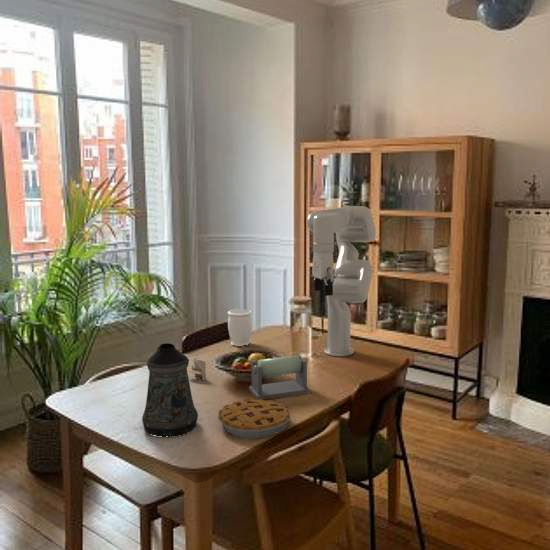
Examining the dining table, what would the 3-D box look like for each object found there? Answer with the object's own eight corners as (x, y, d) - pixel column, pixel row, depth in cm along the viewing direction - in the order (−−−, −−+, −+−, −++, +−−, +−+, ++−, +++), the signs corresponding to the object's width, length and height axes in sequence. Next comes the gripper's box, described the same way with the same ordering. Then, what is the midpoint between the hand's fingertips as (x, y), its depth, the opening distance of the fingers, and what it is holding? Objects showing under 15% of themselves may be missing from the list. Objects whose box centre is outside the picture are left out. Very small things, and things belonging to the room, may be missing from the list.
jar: (225, 347, 255) (225, 313, 252) (231, 340, 265) (230, 308, 262) (249, 348, 253) (248, 314, 250) (254, 341, 263) (253, 309, 260)
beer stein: (166, 443, 165) (162, 359, 160) (125, 425, 177) (121, 346, 173) (209, 424, 177) (206, 345, 173) (168, 408, 189) (165, 334, 185)
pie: (239, 448, 162) (239, 431, 161) (206, 420, 180) (205, 405, 179) (304, 429, 173) (304, 413, 172) (266, 405, 192) (266, 390, 191)
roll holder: (249, 389, 205) (248, 359, 203) (299, 382, 211) (299, 353, 209) (257, 399, 196) (256, 368, 194) (309, 392, 202) (309, 362, 200)
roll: (252, 374, 202) (251, 358, 201) (300, 368, 208) (300, 352, 207) (256, 380, 197) (256, 363, 196) (306, 374, 202) (306, 358, 201)
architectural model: (199, 383, 213) (199, 363, 212) (186, 379, 217) (185, 360, 216) (206, 380, 216) (205, 361, 214) (192, 376, 220) (192, 357, 219)
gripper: (305, 245, 223) (305, 289, 226) (323, 251, 207) (323, 298, 210) (323, 244, 225) (323, 288, 228) (342, 250, 209) (342, 296, 212)
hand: (323, 292), depth 219 cm, fingers open, 9 cm apart
